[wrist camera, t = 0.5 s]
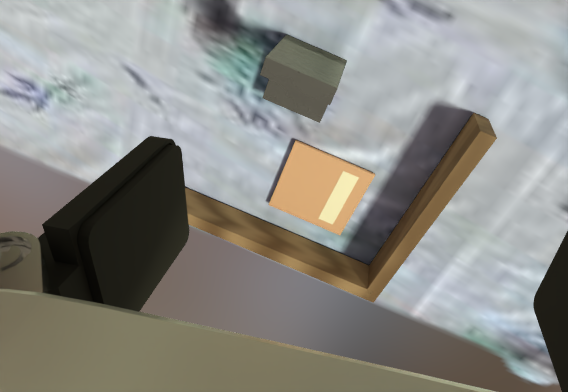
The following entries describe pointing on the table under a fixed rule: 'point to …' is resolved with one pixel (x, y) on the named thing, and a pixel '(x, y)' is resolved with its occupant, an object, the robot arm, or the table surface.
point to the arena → (336, 265)
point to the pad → (320, 187)
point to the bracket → (302, 77)
